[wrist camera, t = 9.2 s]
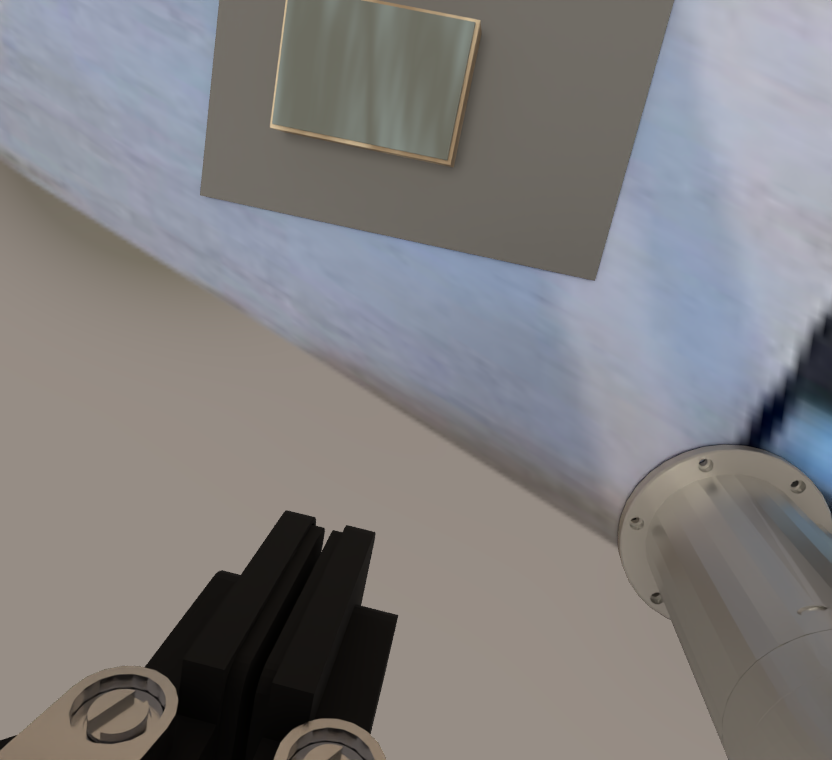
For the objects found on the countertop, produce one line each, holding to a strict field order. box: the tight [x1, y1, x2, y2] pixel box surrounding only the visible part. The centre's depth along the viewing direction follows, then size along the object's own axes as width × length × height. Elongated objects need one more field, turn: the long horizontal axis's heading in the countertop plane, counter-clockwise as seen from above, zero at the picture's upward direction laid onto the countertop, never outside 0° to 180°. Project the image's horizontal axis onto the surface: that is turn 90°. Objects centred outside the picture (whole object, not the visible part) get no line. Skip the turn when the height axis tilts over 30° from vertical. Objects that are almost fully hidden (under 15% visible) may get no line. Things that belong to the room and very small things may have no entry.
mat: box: [200, 0, 674, 281], centre depth 36 cm, size 24×16×1 cm, turn 78°
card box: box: [270, 0, 482, 167], centre depth 34 cm, size 3×7×10 cm
